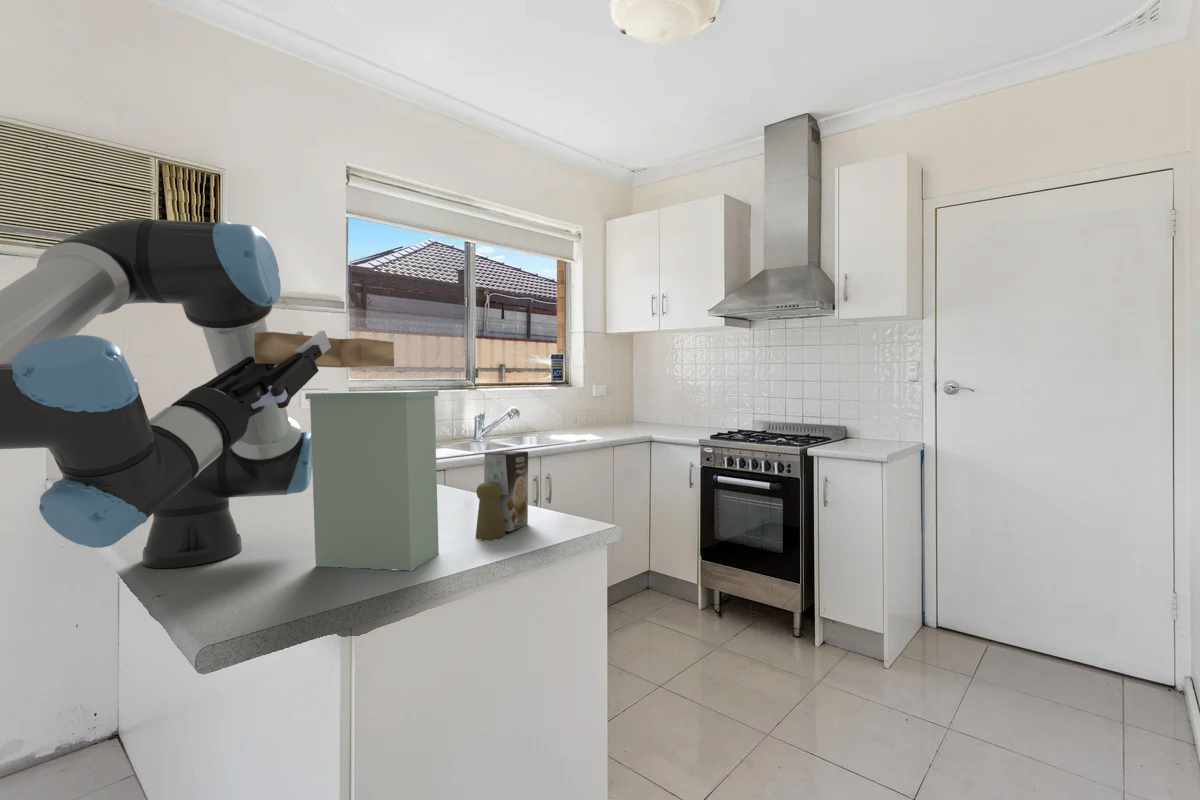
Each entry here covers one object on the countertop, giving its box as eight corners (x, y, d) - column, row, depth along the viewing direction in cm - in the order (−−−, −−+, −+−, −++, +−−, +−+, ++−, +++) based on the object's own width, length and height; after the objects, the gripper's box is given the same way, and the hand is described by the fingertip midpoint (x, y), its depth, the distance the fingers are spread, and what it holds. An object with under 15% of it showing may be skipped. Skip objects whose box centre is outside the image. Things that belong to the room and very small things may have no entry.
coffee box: (511, 532, 122) (511, 453, 122) (483, 530, 124) (483, 453, 124) (528, 524, 131) (528, 450, 131) (502, 522, 132) (502, 450, 133)
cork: (499, 541, 117) (498, 485, 117) (470, 540, 118) (469, 485, 118) (509, 533, 123) (508, 480, 123) (482, 532, 124) (481, 480, 124)
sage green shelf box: (311, 567, 102) (305, 393, 101) (350, 548, 113) (345, 391, 112) (412, 572, 99) (407, 392, 98) (442, 553, 109) (438, 390, 108)
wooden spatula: (232, 363, 79) (231, 333, 79) (341, 367, 101) (340, 344, 101) (297, 361, 77) (296, 330, 76) (394, 366, 99) (393, 342, 98)
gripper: (154, 456, 71) (277, 363, 91) (269, 457, 68) (371, 360, 87) (121, 403, 67) (257, 318, 87) (241, 402, 64) (354, 313, 83)
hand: (314, 339), depth 87 cm, fingers closed on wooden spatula, 3 cm apart
